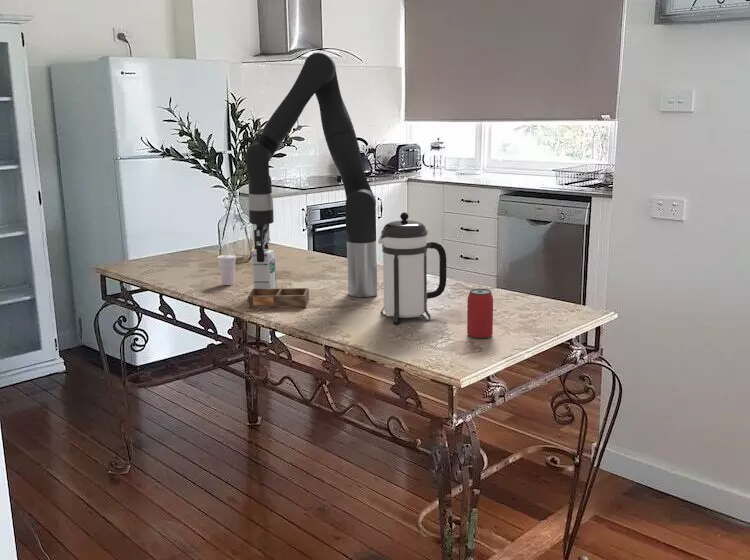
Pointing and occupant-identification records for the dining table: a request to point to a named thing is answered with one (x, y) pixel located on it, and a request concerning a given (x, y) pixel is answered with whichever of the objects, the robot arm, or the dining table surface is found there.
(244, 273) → the dining table surface
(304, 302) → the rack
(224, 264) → the smoothie
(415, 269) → the coffee press
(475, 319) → the beer can
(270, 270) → the syrup box
